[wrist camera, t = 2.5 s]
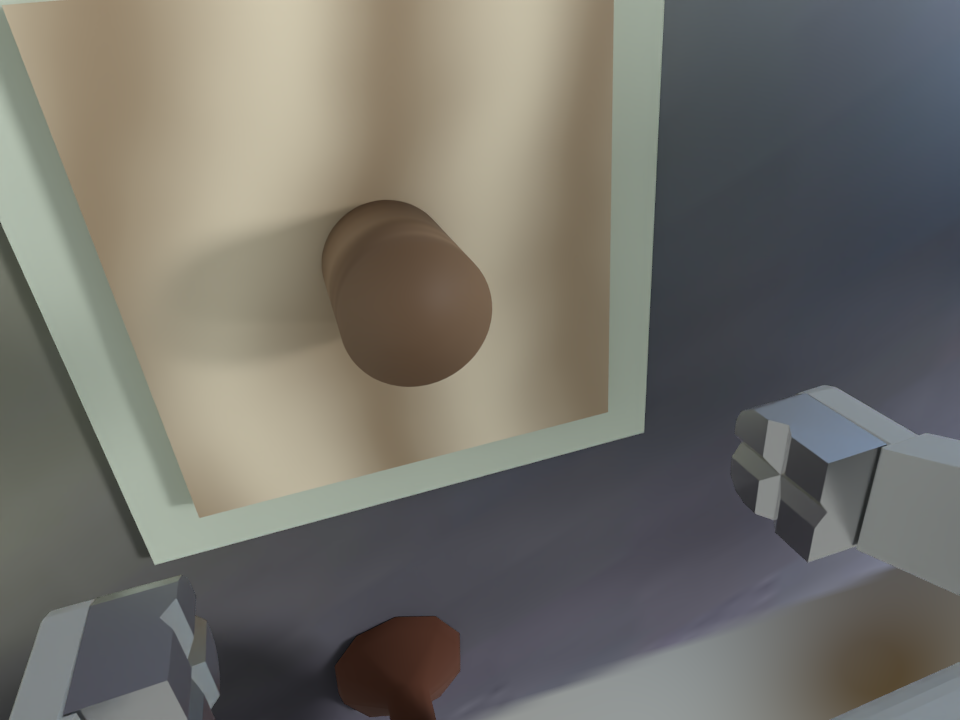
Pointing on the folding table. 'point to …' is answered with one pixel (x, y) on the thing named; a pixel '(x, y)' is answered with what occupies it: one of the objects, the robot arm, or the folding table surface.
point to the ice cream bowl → (399, 668)
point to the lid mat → (180, 532)
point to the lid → (341, 220)
